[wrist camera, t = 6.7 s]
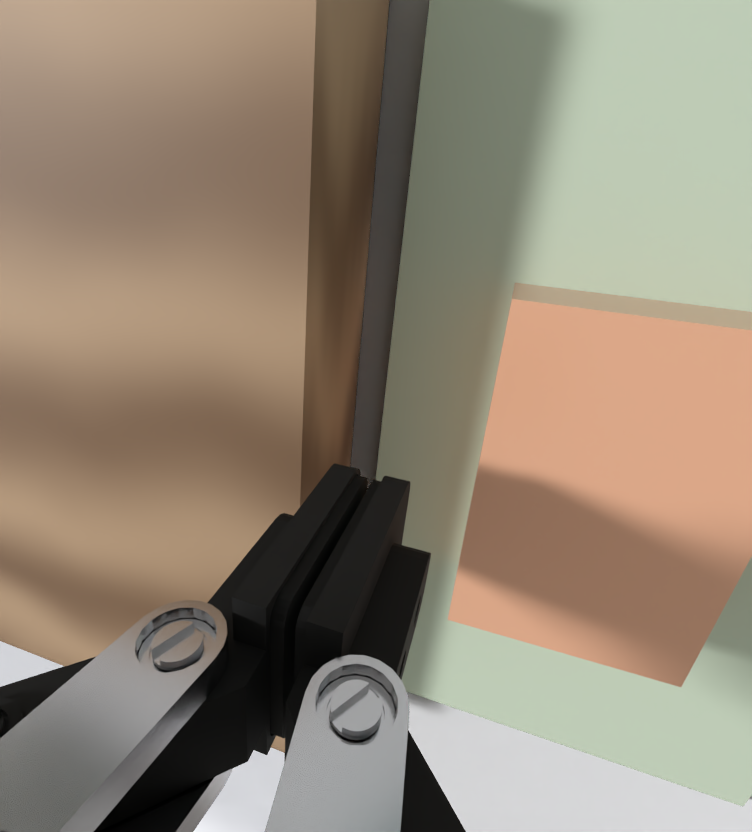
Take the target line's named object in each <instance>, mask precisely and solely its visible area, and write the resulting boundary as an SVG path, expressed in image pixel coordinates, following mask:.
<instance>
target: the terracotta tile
mask: <svg viewBox="0 0 752 832" xmlns="http://www.w3.org/2000/svg"><path fill="white" fill-rule="evenodd" d="M751 557H752V312H749V311H741V310H733V309H725V308H716V307H708V306H700V305H692V304H684V303H676V302H668V301H660V300H652V299H644V298H636V297H628V296H620V295H612V294H603V293H595V292H587V291H579V290H571V289H563V288H555V287H547V286H539V285H531V284H523V283H515V284H514V289H513V294H512V299H511V304H510V309H509V314H508V319H507V324H506V329H505V334H504V339H503V344H502V349H501V354H500V359H499V364H498V369H497V374H496V379H495V384H494V389H493V393H492V398H491V403H490V408H489V413H488V418H487V423H486V428H485V433H484V438H483V443H482V448H481V453H480V458H479V463H478V468H477V473H476V478H475V483H474V488H473V493H472V498H471V503H470V508H469V513H468V518H467V523H466V528H465V533H464V538H463V543H462V548H461V553H460V558H459V563H458V568H457V573H456V578H455V584H454V589H453V594H452V599H451V604H450V609H449V615H448V620H450V621H454V622H457V623H460V624H464V625H467V626H471V627H474V628H478V629H481V630H485V631H488V632H492V633H495V634H498V635H502V636H505V637H509V638H512V639H516V640H519V641H523V642H526V643H530V644H533V645H536V646H540V647H543V648H547V649H550V650H554V651H557V652H561V653H564V654H568V655H571V656H574V657H578V658H581V659H585V660H588V661H592V662H595V663H599V664H602V665H606V666H609V667H612V668H616V669H619V670H623V671H626V672H630V673H633V674H637V675H640V676H644V677H647V678H650V679H654V680H657V681H661V682H664V683H668V684H671V685H675V686H678V687H682V685H683V683H684V681H685V679H686V677H687V676H688V674H689V672H690V670H691V668H692V666H693V664H694V663H695V661H696V659H697V657H698V655H699V653H700V651H701V650H702V648H703V646H704V644H705V642H706V640H707V638H708V637H709V635H710V633H711V631H712V629H713V627H714V625H715V624H716V622H717V620H718V618H719V616H720V614H721V612H722V611H723V609H724V607H725V605H726V603H727V601H728V599H729V598H730V596H731V594H732V592H733V590H734V588H735V586H736V585H737V583H738V581H739V579H740V577H741V575H742V573H743V572H744V570H745V568H746V566H747V564H748V562H749V560H750V559H751Z"/></svg>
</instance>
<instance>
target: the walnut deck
mask: <svg viewBox="0 0 752 832" xmlns="http://www.w3.org/2000/svg"><path fill="white" fill-rule="evenodd" d="M388 12H389V0H0V641H2V642H5V643H7V644H10V645H12V646H15V647H17V648H20V649H22V650H25V651H27V652H30V653H33V654H35V655H38V656H40V657H43V658H45V659H48V660H50V661H53V662H55V663H58V664H60V665H63V666H68V665H71V664H74V663H77V662H80V661H83V660H87V659H90V658H93V657H96V656H98V655H99V654H100V653H101V652H102V651H104V650H105V649H106V648H107V647H108V646H109V645H111V644H112V643H113V642H114V641H115V640H117V639H118V638H119V637H120V636H121V635H122V634H124V633H125V632H126V631H127V630H128V629H129V628H131V627H132V626H133V625H134V624H135V623H137V622H138V621H139V620H140V619H141V618H143V617H144V616H146V615H147V614H148V613H150V612H151V611H153V610H154V609H156V608H159V607H161V606H164V605H166V604H168V603H172V602H177V601H182V600H197V601H202V602H205V603H208V601H209V600H210V599H211V598H212V596H213V595H214V594H215V593H216V592H217V590H218V589H219V588H220V587H221V585H222V584H223V583H224V582H225V580H226V579H227V578H228V577H229V575H230V574H231V573H232V572H233V571H234V569H235V568H236V567H237V566H238V564H239V563H240V562H241V561H242V559H243V558H244V557H245V556H246V555H247V553H248V552H249V551H250V550H251V548H252V547H253V546H254V545H255V543H256V542H257V541H258V540H259V539H260V537H261V536H262V535H263V534H264V532H265V531H266V530H267V529H268V527H269V526H270V525H271V524H272V523H273V521H274V520H275V519H276V518H277V517H278V516H279V515H280V514H282V513H286V514H290V515H293V516H294V514H295V513H296V512H297V510H298V509H299V508H300V507H301V505H302V504H303V503H304V501H305V500H306V499H307V497H308V496H309V495H310V493H311V492H312V491H313V489H314V488H315V487H316V486H317V484H318V483H319V482H320V480H321V479H322V478H323V476H324V475H325V474H326V472H327V471H328V470H329V468H330V467H331V466H332V465H333V464H335V463H336V464H340V465H344V466H348V467H350V463H351V451H352V439H353V427H354V415H355V404H356V392H357V380H358V368H359V356H360V344H361V332H362V320H363V309H364V297H365V285H366V273H367V261H368V249H369V237H370V225H371V214H372V202H373V190H374V178H375V166H376V154H377V142H378V130H379V119H380V107H381V95H382V83H383V71H384V59H385V47H386V35H387V24H388ZM271 747H272V748H274V749H277V750H279V751H282V752H284V753H285V738H281V737H278V736H276V737H275V739H274V741H273V743H272V746H271Z"/></svg>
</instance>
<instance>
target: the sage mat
mask: <svg viewBox="0 0 752 832" xmlns="http://www.w3.org/2000/svg"><path fill="white" fill-rule="evenodd" d="M515 283H523V284H531V285H539V286H547V287H555V288H563V289H571V290H579V291H587V292H595V293H603V294H612V295H620V296H628V297H636V298H644V299H652V300H660V301H668V302H676V303H684V304H692V305H700V306H708V307H716V308H725V309H733V310H741V311H749V312H752V0H430V1H429V10H428V19H427V27H426V36H425V45H424V54H423V63H422V72H421V81H420V90H419V98H418V107H417V116H416V125H415V134H414V143H413V152H412V161H411V169H410V178H409V187H408V196H407V205H406V214H405V223H404V232H403V240H402V249H401V258H400V267H399V276H398V285H397V294H396V303H395V311H394V320H393V329H392V338H391V347H390V356H389V365H388V374H387V382H386V391H385V400H384V409H383V418H382V427H381V436H380V445H379V454H378V462H377V471H376V480H377V481H382V479H383V477H384V476H390V477H394V478H398V479H402V480H406V481H410V493H409V500H408V506H407V513H406V519H405V526H404V533H403V539H402V545H404V546H407V547H411V548H415V549H418V550H422V551H426V552H429V553H431V558H430V564H429V569H428V574H427V580H426V585H425V590H424V594H423V599H422V603H421V608H420V612H419V616H418V620H417V624H416V628H415V631H414V635H413V639H412V643H411V646H410V650H409V654H408V658H407V661H406V665H405V669H404V673H403V676H402V682H403V684H404V687H405V689H406V692H409V693H412V694H415V695H418V696H421V697H424V698H427V699H430V700H432V701H435V702H438V703H441V704H444V705H447V706H450V707H453V708H456V709H459V710H462V711H465V712H468V713H471V714H473V715H476V716H479V717H482V718H485V719H488V720H491V721H494V722H497V723H500V724H503V725H506V726H509V727H512V728H514V729H517V730H520V731H523V732H526V733H529V734H532V735H535V736H538V737H541V738H544V739H547V740H550V741H553V742H555V743H558V744H561V745H564V746H567V747H570V748H573V749H576V750H579V751H582V752H585V753H588V754H591V755H594V756H596V757H599V758H602V759H605V760H608V761H611V762H614V763H617V764H620V765H623V766H626V767H629V768H632V769H635V770H637V771H640V772H643V773H646V774H649V775H652V776H655V777H658V778H661V779H664V780H667V781H670V782H673V783H676V784H678V785H681V786H684V787H687V788H690V789H693V790H696V791H699V792H702V793H705V794H708V795H711V796H714V797H716V798H719V799H722V800H725V801H728V802H731V803H734V804H737V805H740V806H744V805H745V803H746V802H747V801H748V800H749V798H750V797H751V796H752V557H751V559H750V560H749V562H748V564H747V566H746V568H745V570H744V572H743V573H742V575H741V577H740V579H739V581H738V583H737V585H736V586H735V588H734V590H733V592H732V594H731V596H730V598H729V599H728V601H727V603H726V605H725V607H724V609H723V611H722V612H721V614H720V616H719V618H718V620H717V622H716V624H715V625H714V627H713V629H712V631H711V633H710V635H709V637H708V638H707V640H706V642H705V644H704V646H703V648H702V650H701V651H700V653H699V655H698V657H697V659H696V661H695V663H694V664H693V666H692V668H691V670H690V672H689V674H688V676H687V677H686V679H685V681H684V683H683V685H682V687H678V686H675V685H671V684H668V683H664V682H661V681H657V680H654V679H650V678H647V677H644V676H640V675H637V674H633V673H630V672H626V671H623V670H619V669H616V668H612V667H609V666H606V665H602V664H599V663H595V662H592V661H588V660H585V659H581V658H578V657H574V656H571V655H568V654H564V653H561V652H557V651H554V650H550V649H547V648H543V647H540V646H536V645H533V644H530V643H526V642H523V641H519V640H516V639H512V638H509V637H505V636H502V635H498V634H495V633H492V632H488V631H485V630H481V629H478V628H474V627H471V626H467V625H464V624H460V623H457V622H454V621H450V620H448V615H449V609H450V604H451V599H452V594H453V589H454V584H455V578H456V573H457V568H458V563H459V558H460V553H461V548H462V543H463V538H464V533H465V528H466V523H467V518H468V513H469V508H470V503H471V498H472V493H473V488H474V483H475V478H476V473H477V468H478V463H479V458H480V453H481V448H482V443H483V438H484V433H485V428H486V423H487V418H488V413H489V408H490V403H491V398H492V393H493V389H494V384H495V379H496V374H497V369H498V364H499V359H500V354H501V349H502V344H503V339H504V334H505V329H506V324H507V319H508V314H509V309H510V304H511V299H512V294H513V289H514V284H515Z"/></svg>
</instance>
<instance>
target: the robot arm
mask: <svg viewBox="0 0 752 832" xmlns="http://www.w3.org/2000/svg"><path fill="white" fill-rule="evenodd" d="M409 493H410V481H406V480H402V479H398V478H394V477H390V476H384V477H383V479H382V481H377V480H373V481H372V483H371V485H370V486H369V488H368V490H367V478H365V477H361V476H360V470H359V469H356V468H352V467H348V466H344V465H340V464H336V463H335V464H333V465H332V466H331V467H330V468H329V470H328V471H327V472H326V474H325V475H324V476H323V478H322V479H321V480H320V482H319V483H318V484H317V486H316V487H315V488H314V489H313V491H312V492H311V493H310V495H309V496H308V497H307V499H306V500H305V501H304V503H303V504H302V505H301V507H300V508H299V509H298V510H297V512H296V513H295V514H294V516H293V515H290V514H286V513H282V514H280V515H279V516H278V517H277V518H276V519H275V520H274V521H273V523H272V524H271V525H270V526H269V527H268V529H267V530H266V531H265V532H264V534H263V535H262V536H261V537H260V539H259V540H258V541H257V542H256V543H255V545H254V546H253V547H252V548H251V550H250V551H249V552H248V553H247V555H246V556H245V557H244V558H243V559H242V561H241V562H240V563H239V564H238V566H237V567H236V568H235V569H234V571H233V572H232V573H231V574H230V575H229V577H228V578H227V579H226V580H225V582H224V583H223V584H222V585H221V587H220V588H219V589H218V590H217V592H216V593H215V594H214V595H213V596H212V598H211V599H210V600H209V601H208V603H205V602H202V601H197V600H182V601H177V602H172V603H168V604H166V605H164V606H161V607H159V608H156V609H154V610H153V611H151V612H150V613H148V614H147V615H146V616H144V617H143V618H141V619H140V620H139V621H138V622H137V623H135V624H134V625H133V626H132V627H131V628H129V629H128V630H127V631H126V632H125V633H124V634H122V635H121V636H120V637H119V638H118V639H117V640H115V641H114V642H113V643H112V644H111V645H109V646H108V647H107V648H106V649H105V650H104V651H102V652H101V653H100V654H99V655H98V656H96V657H93V658H90V659H87V660H83V661H80V662H77V663H74V664H71V665H68V666H65V667H62V668H58V669H55V670H52V671H49V672H46V673H43V674H40V675H37V676H33V677H30V678H27V679H24V680H21V681H18V682H15V683H11V684H8V685H5V686H2V687H0V832H193V831H194V830H195V828H196V827H197V825H198V824H199V822H200V821H201V819H202V818H203V816H204V815H205V814H206V812H207V811H208V809H209V808H210V806H211V805H212V803H213V802H214V800H215V799H216V797H217V796H218V795H219V793H220V792H221V790H222V789H223V787H224V786H225V784H226V782H227V780H228V778H229V776H230V774H231V772H232V768H234V767H236V766H238V765H241V764H243V763H245V762H247V761H248V760H249V758H250V756H251V754H252V752H253V750H255V751H258V752H260V753H263V754H265V755H267V754H268V752H269V750H270V748H271V746H272V743H273V741H274V739H275V737H276V736H278V737H281V738H285V763H284V767H283V770H282V774H281V777H280V781H279V784H278V788H277V791H276V795H275V798H274V801H273V805H272V808H271V812H270V815H269V819H268V822H267V826H266V829H265V832H466V831H465V830H464V828H463V826H462V824H461V823H460V821H459V819H458V817H457V816H456V814H455V812H454V810H453V809H452V807H451V805H450V803H449V801H448V800H447V798H446V796H445V794H444V793H443V791H442V789H441V787H440V786H439V784H438V782H437V780H436V778H435V777H434V775H433V773H432V771H431V770H430V768H429V766H428V764H427V763H426V761H425V759H424V757H423V756H422V754H421V752H420V750H419V748H418V747H417V745H416V743H415V741H414V740H413V738H412V736H411V734H410V733H409V731H408V724H409V701H408V694H407V692H406V689H405V687H404V684H403V682H402V676H403V673H404V669H405V665H406V661H407V658H408V654H409V650H410V646H411V643H412V639H413V635H414V631H415V628H416V624H417V620H418V616H419V612H420V608H421V603H422V599H423V594H424V590H425V585H426V580H427V574H428V569H429V564H430V558H431V553H429V552H426V551H422V550H418V549H415V548H411V547H407V546H404V545H402V539H403V533H404V526H405V519H406V513H407V506H408V500H409Z"/></svg>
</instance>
